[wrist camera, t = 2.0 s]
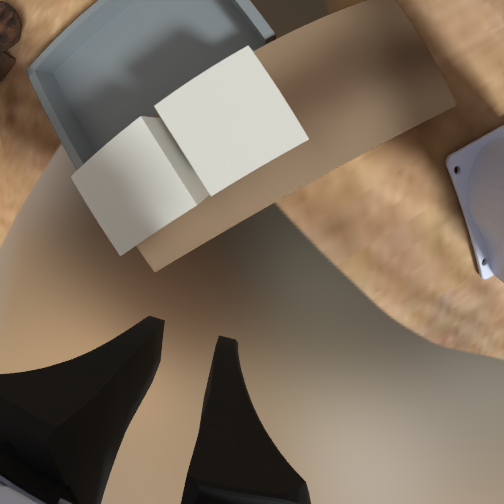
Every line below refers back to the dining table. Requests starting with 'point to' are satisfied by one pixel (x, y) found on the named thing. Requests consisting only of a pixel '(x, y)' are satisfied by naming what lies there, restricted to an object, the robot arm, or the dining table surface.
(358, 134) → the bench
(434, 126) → the dining table surface
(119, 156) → the white squarish block
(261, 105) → the tile
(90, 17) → the tray
